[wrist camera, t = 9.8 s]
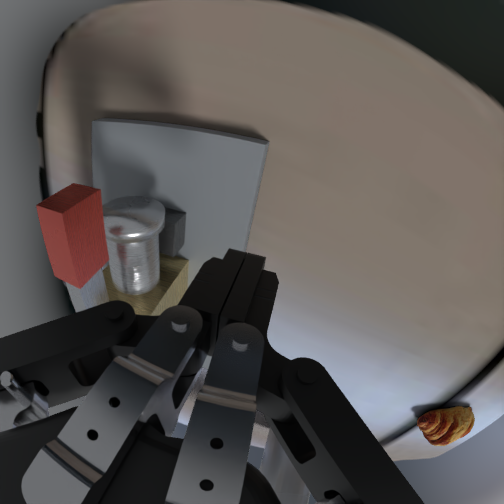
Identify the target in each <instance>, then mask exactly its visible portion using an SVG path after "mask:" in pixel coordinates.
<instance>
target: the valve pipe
mask: <svg viewBox="0 0 504 504" xmlns="http://www.w3.org/2000/svg"><path fill="white" fill-rule="evenodd" d="M102 209H103V218H104V227H105V234H106V242H107V248H108V254H109V265H108V266H107V267H106V268H105V269H104V270H103V271H102V272H103V276H104V281H105V285H106V289H107V293H108V297H109V301H114V300H120V301H124V302H127V303H128V304H130V305H131V306H132V307H133V309H134V311H135V314H138V315H150V316H157V315H161V313H162V312H163V311H164V310H166V309H167V308H169V307H172V306H176V305H178V303H179V302H180V300H181V298H182V297H183V295H184V293H185V292H186V290H187V289H188V267H189V260H187V259H184V258H181V257H177V256H175V255H176V254H177V253H178V252H179V250H180V249H181V248H182V247H183V245H184V242H185V226H186V213H185V212H182V211H178V210H174V209H170V208H166V207H164V206H163V204H162V203H160V202H159V201H157V200H155V199H153V198H149V197H144V196H126V197H120V198H117V199H114V200H111V201H109V202H107V203H105V204H104V205H103V206H102Z"/></svg>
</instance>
